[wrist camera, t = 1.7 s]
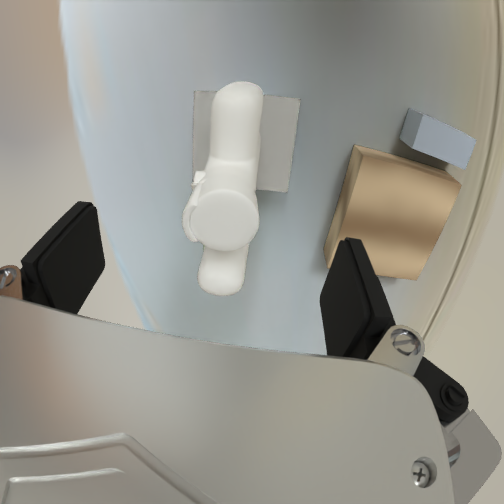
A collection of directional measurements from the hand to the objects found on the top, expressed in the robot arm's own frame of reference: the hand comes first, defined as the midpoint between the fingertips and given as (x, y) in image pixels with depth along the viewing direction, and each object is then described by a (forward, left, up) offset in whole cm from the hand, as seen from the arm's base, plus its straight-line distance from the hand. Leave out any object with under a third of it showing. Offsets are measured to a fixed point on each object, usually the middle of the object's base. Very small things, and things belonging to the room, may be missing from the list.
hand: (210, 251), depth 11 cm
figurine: (-1, 0, -16) cm, 16 cm away
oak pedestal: (+4, +14, -16) cm, 22 cm away
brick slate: (-4, +16, -16) cm, 23 cm away
